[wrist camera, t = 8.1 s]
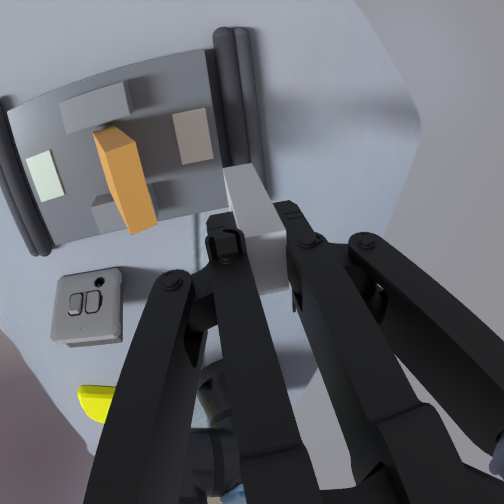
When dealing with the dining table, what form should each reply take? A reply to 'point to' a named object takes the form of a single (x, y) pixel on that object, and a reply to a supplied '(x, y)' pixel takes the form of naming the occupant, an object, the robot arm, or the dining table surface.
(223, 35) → the cable bundle
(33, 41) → the dining table surface
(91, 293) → the electrical switch
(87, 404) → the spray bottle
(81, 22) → the dining table surface
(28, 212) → the cable bundle
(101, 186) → the breaker panel
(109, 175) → the lever
